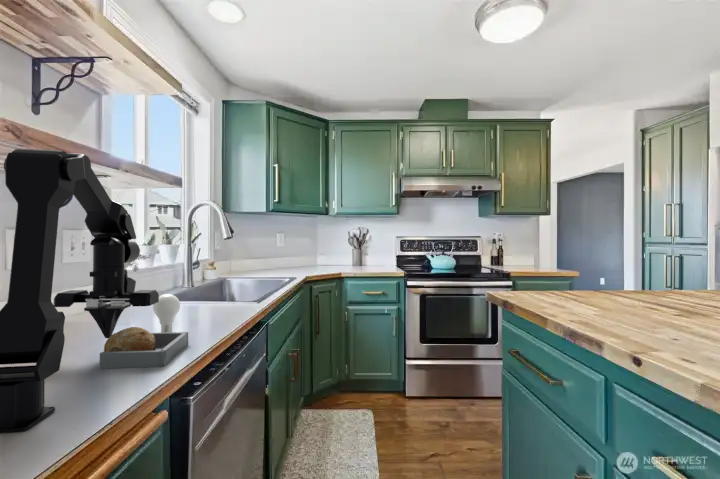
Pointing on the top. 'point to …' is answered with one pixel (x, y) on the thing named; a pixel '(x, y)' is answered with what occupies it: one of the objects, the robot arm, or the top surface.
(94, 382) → the top surface
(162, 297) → the lightbulb
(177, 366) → the top surface
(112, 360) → the grey u-shaped frame
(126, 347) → the bread roll
